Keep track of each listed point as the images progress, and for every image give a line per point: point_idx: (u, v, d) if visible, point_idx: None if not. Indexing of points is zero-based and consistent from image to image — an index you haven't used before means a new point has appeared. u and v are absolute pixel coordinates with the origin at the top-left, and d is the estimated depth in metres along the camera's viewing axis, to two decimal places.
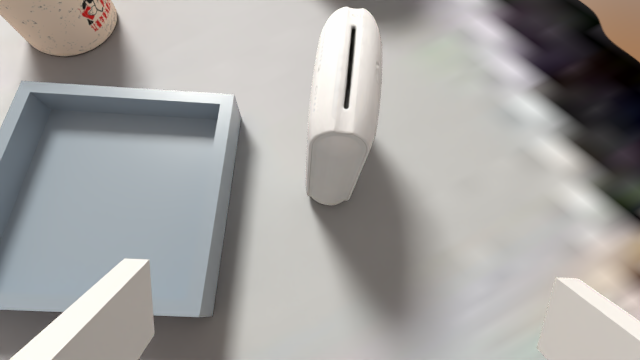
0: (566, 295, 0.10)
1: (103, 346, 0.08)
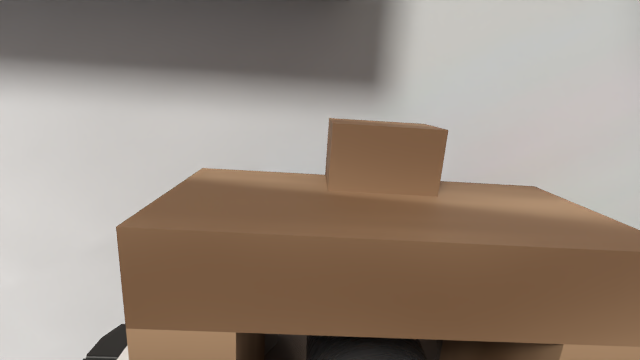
0: None
1: None
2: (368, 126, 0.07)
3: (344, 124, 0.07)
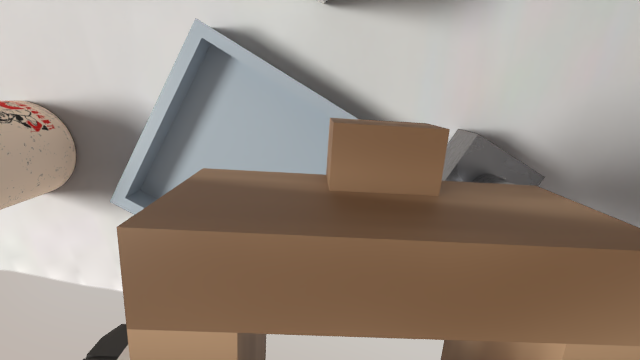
0: None
1: None
2: (369, 125, 0.07)
3: (345, 123, 0.07)
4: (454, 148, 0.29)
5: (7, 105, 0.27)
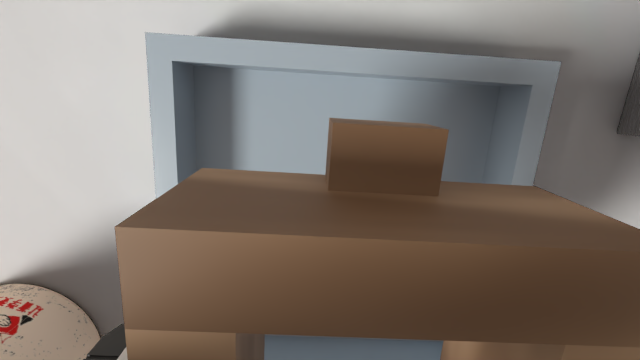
0: None
1: None
2: (368, 125, 0.07)
3: (344, 123, 0.07)
4: None
5: None
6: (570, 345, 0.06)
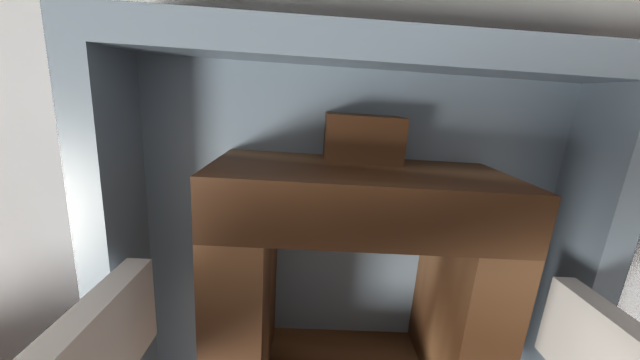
0: (563, 294, 0.10)
1: (107, 345, 0.08)
2: (353, 116, 0.10)
3: (336, 114, 0.10)
4: None
5: None
6: (482, 258, 0.09)
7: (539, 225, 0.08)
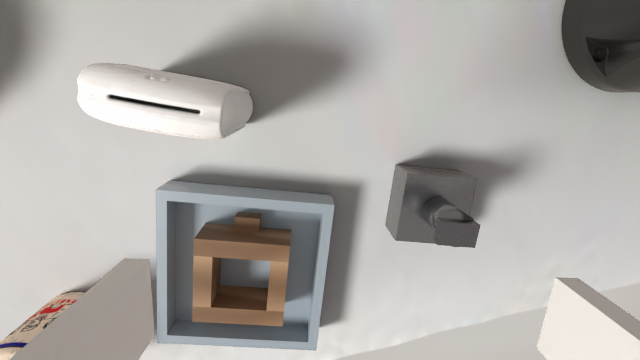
0: (566, 295, 0.10)
1: (103, 346, 0.08)
2: (242, 217, 0.33)
3: (237, 217, 0.33)
4: (398, 185, 0.34)
5: (53, 308, 0.34)
6: (271, 261, 0.32)
7: (285, 253, 0.32)
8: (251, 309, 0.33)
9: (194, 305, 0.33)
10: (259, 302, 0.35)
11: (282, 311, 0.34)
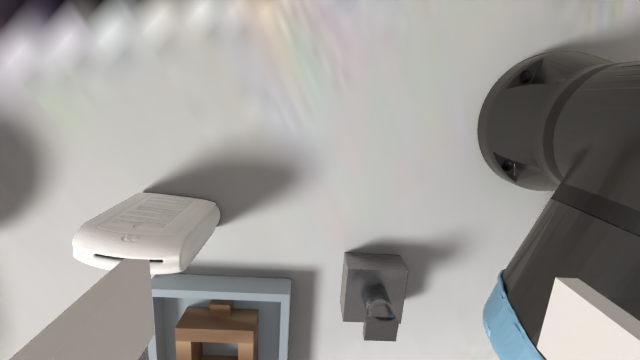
0: (566, 295, 0.10)
1: (103, 346, 0.08)
2: (215, 305, 0.40)
3: (211, 304, 0.40)
4: (344, 273, 0.40)
5: None
6: (238, 343, 0.39)
7: (250, 336, 0.39)
8: None
9: None
10: None
11: None
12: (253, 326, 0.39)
